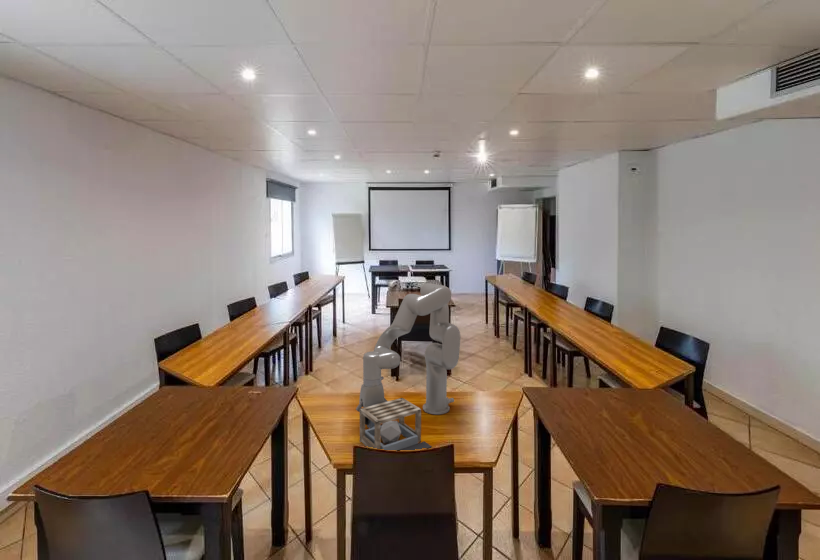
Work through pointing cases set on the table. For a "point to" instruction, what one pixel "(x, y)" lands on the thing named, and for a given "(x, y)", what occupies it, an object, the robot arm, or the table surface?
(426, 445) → the pit mat
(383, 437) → the die
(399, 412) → the tunnel
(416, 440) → the tray with upright post
